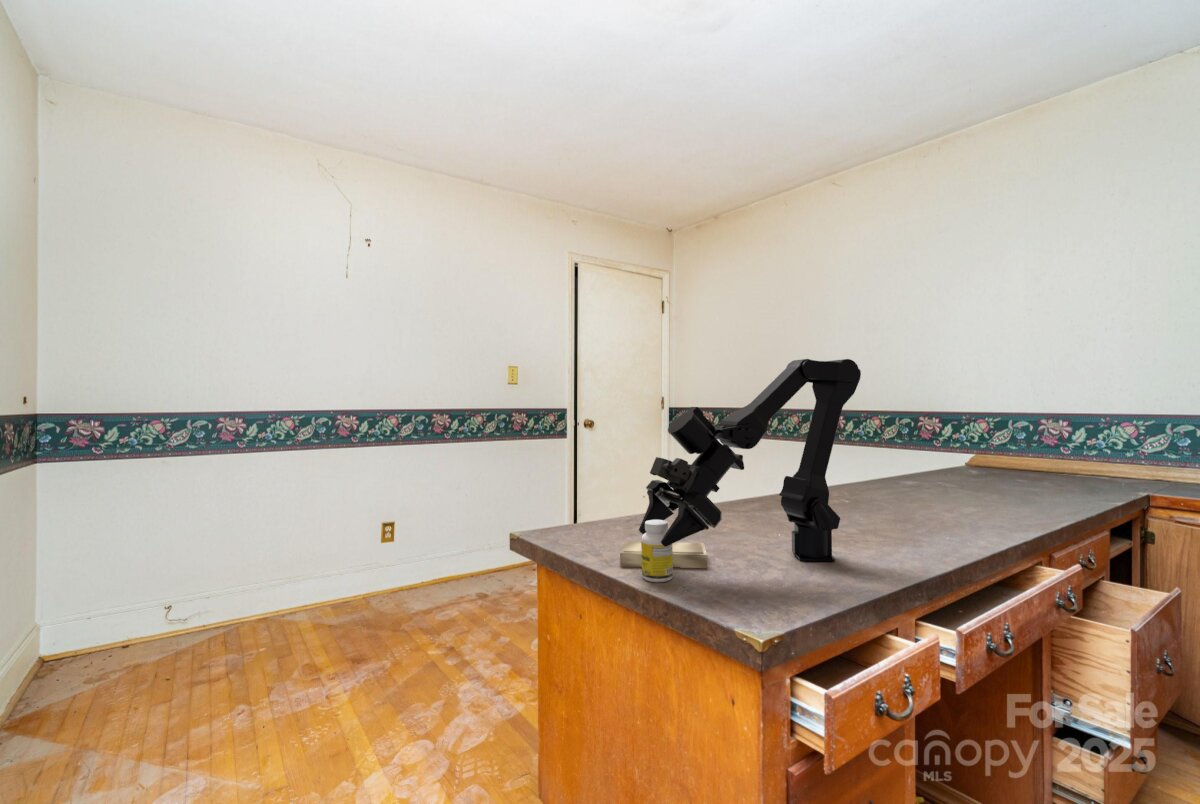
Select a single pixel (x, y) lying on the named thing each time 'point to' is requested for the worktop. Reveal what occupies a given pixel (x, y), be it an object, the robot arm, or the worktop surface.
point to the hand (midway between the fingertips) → (651, 538)
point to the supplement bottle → (656, 553)
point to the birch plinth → (682, 555)
